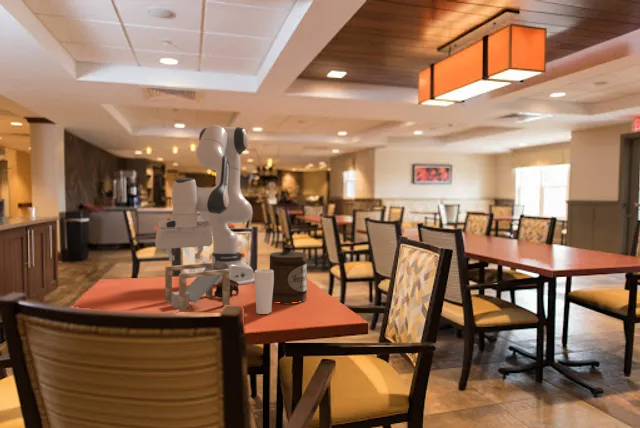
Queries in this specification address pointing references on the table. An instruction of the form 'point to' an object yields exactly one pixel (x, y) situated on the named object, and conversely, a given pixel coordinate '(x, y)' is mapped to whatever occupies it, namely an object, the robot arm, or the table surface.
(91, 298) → the table surface
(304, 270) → the wooden container
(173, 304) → the block
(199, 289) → the trapdoor
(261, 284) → the tall white cup
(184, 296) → the frame
